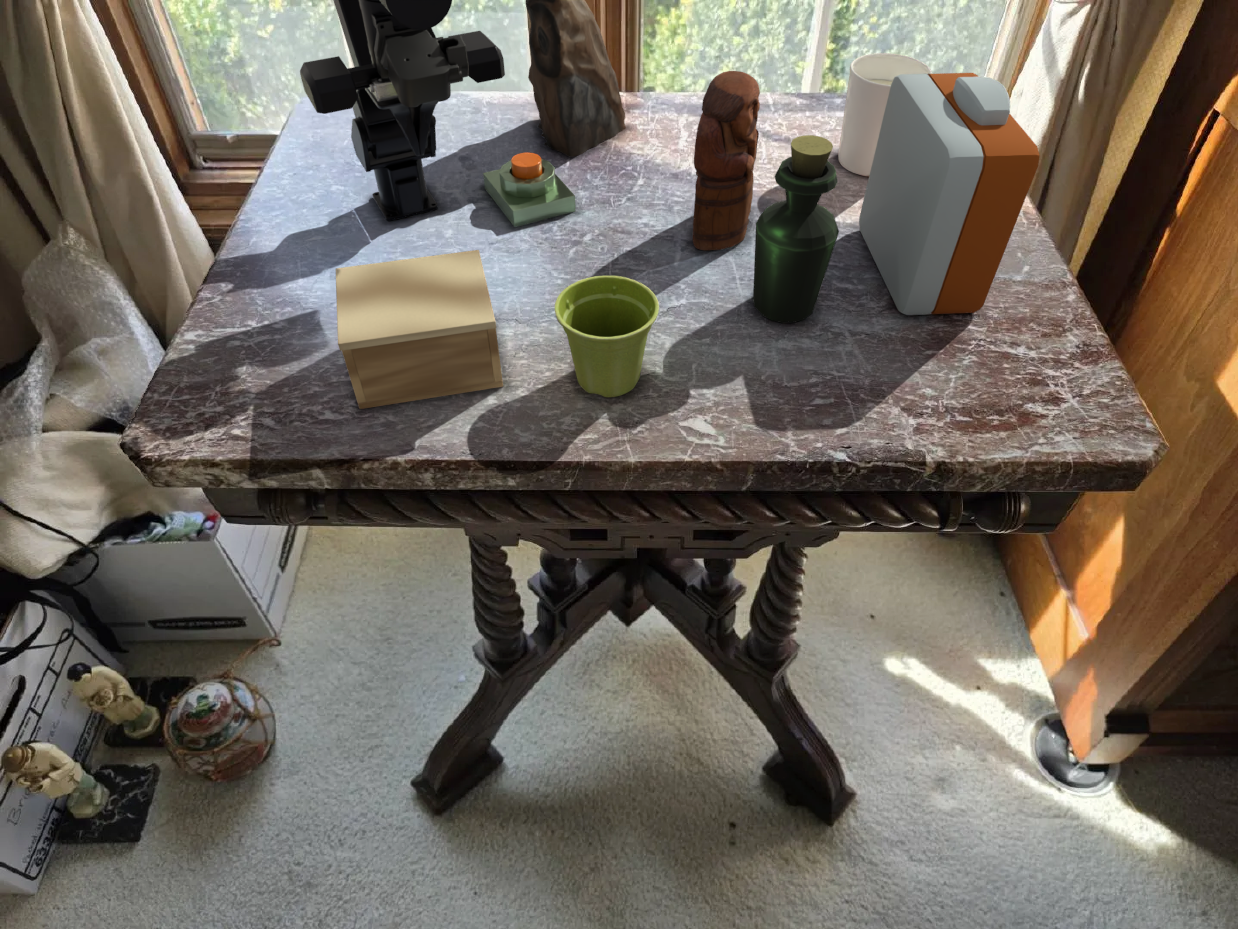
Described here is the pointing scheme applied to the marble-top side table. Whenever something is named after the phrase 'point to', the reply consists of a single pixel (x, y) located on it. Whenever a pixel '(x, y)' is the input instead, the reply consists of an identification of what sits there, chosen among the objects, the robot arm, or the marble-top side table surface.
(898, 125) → the alarm clock
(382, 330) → the lid
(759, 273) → the potion bottle
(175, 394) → the marble-top side table surface
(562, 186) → the button block
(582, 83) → the owl
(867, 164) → the candle holder
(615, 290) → the plant pot
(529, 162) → the button
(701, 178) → the wooden figurine
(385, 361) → the chest
